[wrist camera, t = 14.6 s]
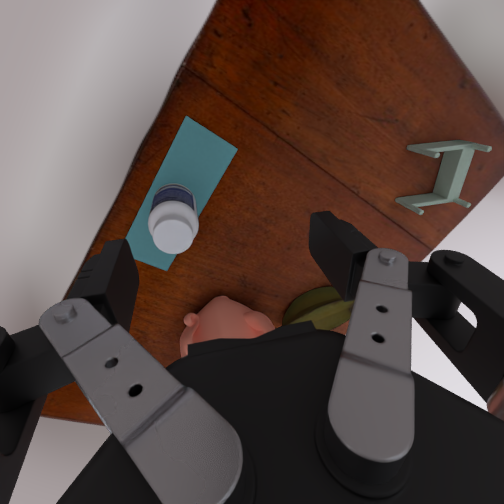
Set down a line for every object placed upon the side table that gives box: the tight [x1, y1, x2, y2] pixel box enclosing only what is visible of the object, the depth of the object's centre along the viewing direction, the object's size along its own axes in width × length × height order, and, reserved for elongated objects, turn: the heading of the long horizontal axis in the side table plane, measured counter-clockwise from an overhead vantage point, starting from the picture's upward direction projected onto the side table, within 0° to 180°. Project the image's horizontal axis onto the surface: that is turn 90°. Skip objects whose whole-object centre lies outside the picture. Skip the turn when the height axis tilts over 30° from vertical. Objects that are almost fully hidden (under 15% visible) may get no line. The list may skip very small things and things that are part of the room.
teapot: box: [180, 296, 275, 357], centre depth 44 cm, size 15×17×13 cm
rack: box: [395, 140, 492, 215], centre depth 41 cm, size 8×8×5 cm
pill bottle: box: [148, 183, 199, 254], centre depth 33 cm, size 5×5×10 cm
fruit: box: [282, 287, 355, 331], centre depth 49 cm, size 11×12×7 cm
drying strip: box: [125, 116, 238, 271], centre depth 37 cm, size 20×7×1 cm, turn 147°
